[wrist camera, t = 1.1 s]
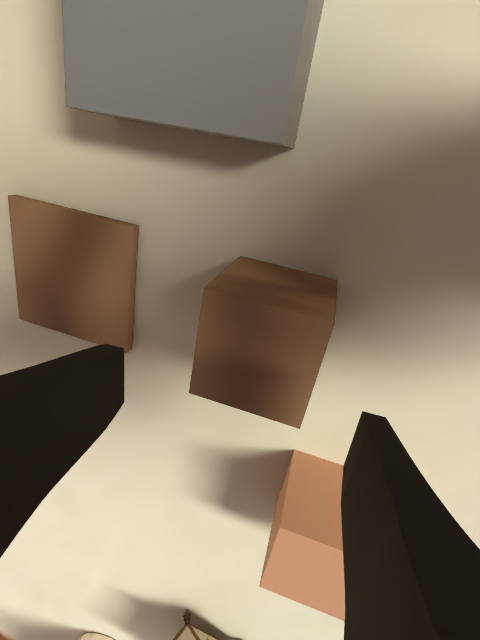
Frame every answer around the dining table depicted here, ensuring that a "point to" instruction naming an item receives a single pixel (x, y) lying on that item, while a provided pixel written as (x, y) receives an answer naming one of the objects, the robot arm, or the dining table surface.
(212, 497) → the dining table surface
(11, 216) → the tile
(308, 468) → the terracotta block
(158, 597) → the dining table surface
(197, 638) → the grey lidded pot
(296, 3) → the base block
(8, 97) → the dining table surface
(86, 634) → the white cylinder
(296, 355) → the walnut block
